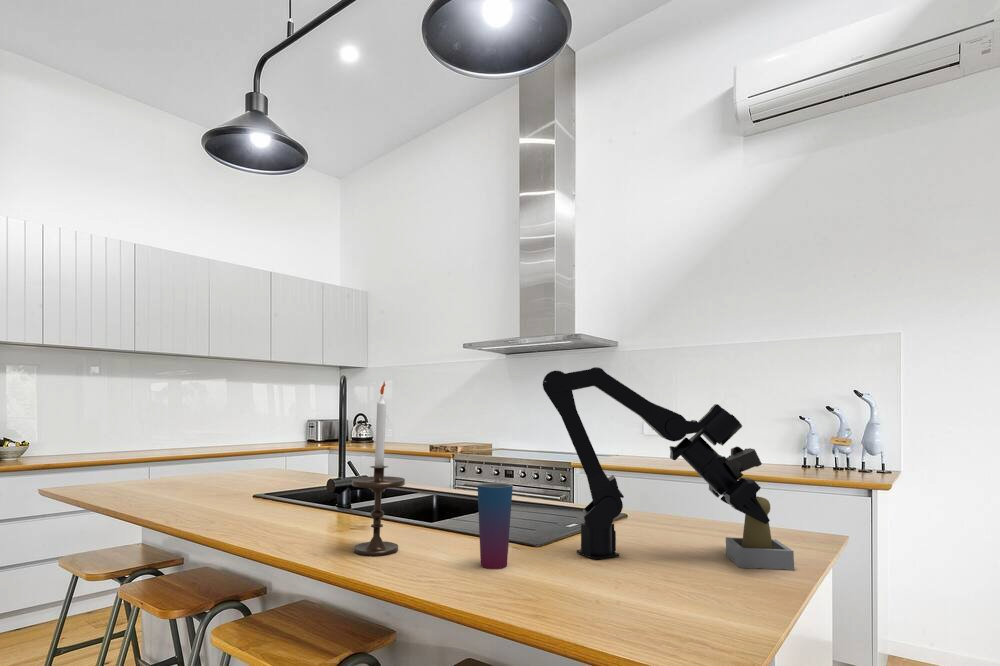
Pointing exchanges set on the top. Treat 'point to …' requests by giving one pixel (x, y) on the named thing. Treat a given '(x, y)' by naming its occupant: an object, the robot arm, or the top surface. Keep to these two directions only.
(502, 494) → the cup
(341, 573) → the top surface
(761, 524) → the olive pawn
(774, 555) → the open box
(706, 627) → the top surface
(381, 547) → the candlestick
